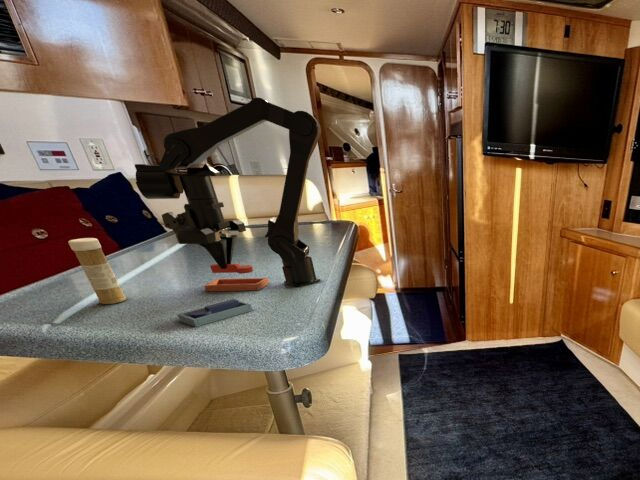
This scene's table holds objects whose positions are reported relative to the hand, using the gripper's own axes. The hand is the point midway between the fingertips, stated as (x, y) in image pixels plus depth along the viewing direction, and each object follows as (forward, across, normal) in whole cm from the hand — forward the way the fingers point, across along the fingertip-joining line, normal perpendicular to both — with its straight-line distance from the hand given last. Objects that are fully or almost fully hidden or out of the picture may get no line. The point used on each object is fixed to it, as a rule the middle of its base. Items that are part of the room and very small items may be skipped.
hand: (226, 267), depth 98 cm
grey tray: (+5, +21, +7) cm, 23 cm away
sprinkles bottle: (+5, +10, -21) cm, 23 cm away
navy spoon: (+4, +21, +7) cm, 23 cm away
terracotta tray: (+5, 0, +1) cm, 5 cm away
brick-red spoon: (+1, 0, +2) cm, 2 cm away
